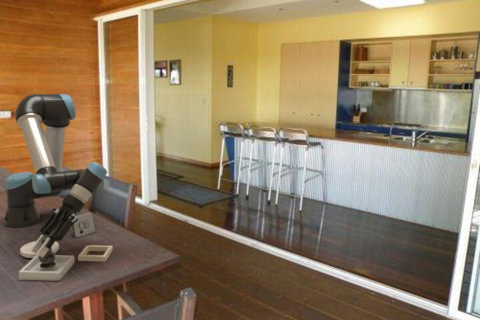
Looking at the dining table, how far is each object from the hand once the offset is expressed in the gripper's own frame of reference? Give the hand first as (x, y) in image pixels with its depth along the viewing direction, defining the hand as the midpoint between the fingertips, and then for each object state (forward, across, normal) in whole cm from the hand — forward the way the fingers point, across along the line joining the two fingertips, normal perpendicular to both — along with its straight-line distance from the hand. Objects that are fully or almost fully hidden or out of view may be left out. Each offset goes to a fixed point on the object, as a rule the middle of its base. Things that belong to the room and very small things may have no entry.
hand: (36, 253), depth 146 cm
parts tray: (+3, 0, -8) cm, 9 cm away
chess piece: (+1, 0, -7) cm, 7 cm away
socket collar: (-10, -2, -22) cm, 24 cm away
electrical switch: (-17, +22, -29) cm, 40 cm away
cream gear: (-1, +18, -14) cm, 22 cm away
